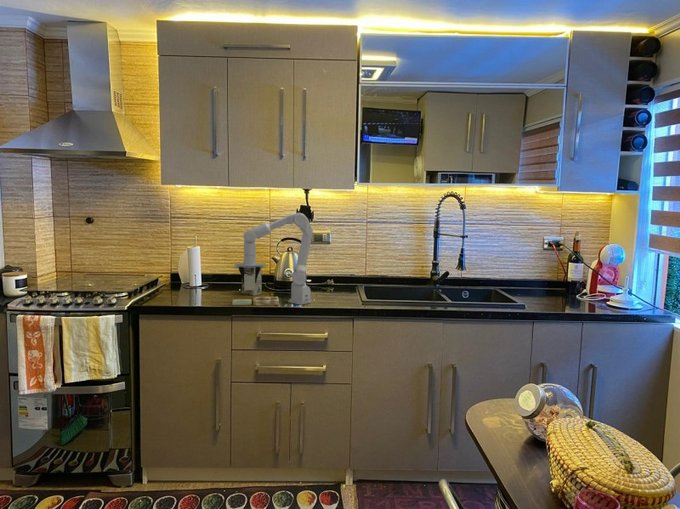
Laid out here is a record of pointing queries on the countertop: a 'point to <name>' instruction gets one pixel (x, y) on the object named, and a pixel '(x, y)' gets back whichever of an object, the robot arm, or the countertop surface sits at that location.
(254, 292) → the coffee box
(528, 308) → the countertop surface
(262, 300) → the birch frame
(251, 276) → the knob-topped grey cube
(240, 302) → the rubber pad
